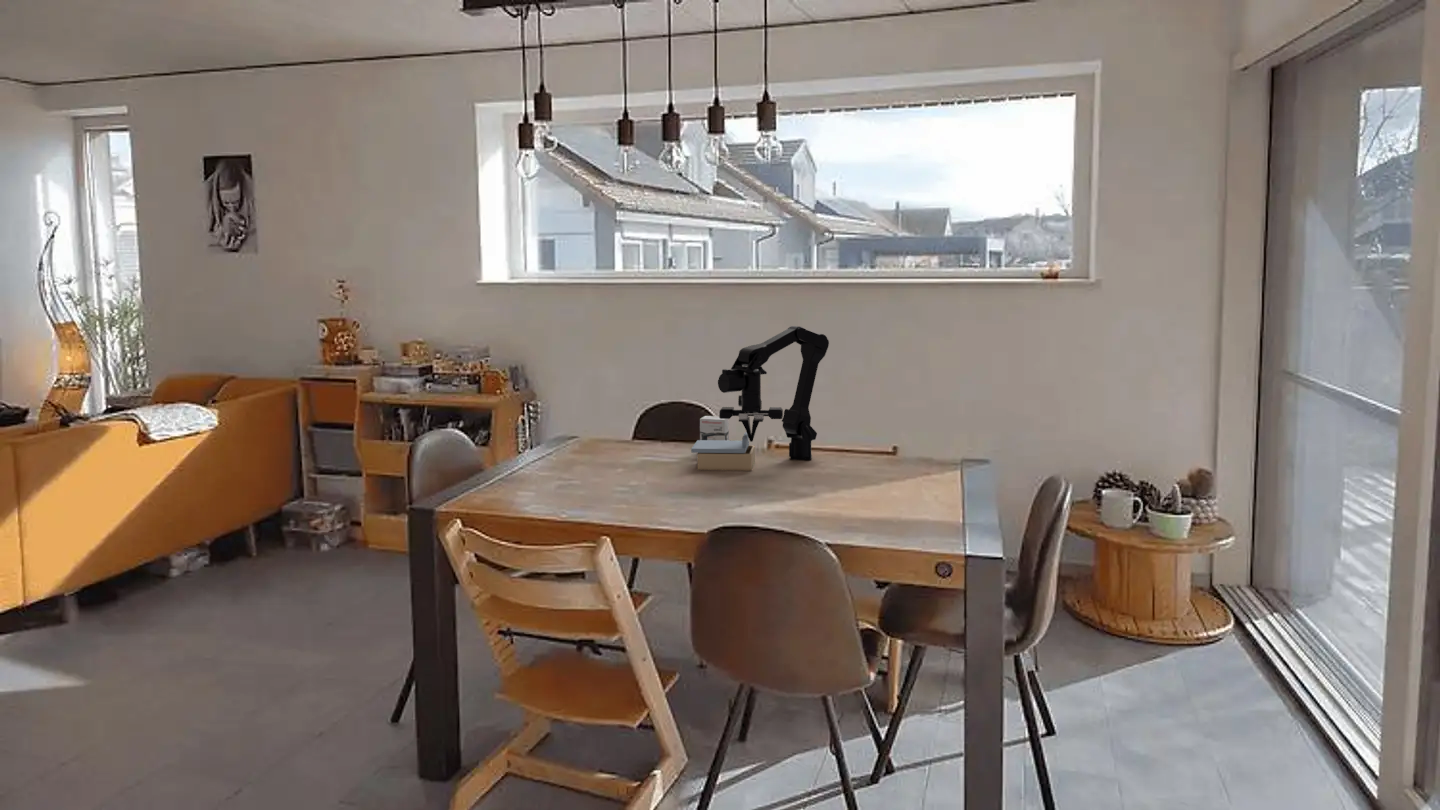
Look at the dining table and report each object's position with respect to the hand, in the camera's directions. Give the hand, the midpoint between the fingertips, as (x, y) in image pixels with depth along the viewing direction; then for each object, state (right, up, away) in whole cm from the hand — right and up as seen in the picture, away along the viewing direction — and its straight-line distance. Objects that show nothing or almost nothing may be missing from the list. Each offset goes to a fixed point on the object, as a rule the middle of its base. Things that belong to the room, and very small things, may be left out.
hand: (751, 441), depth 314 cm
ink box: (-11, -5, +21) cm, 25 cm away
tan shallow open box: (-7, -7, +2) cm, 11 cm away
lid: (-9, -2, +1) cm, 10 cm away
